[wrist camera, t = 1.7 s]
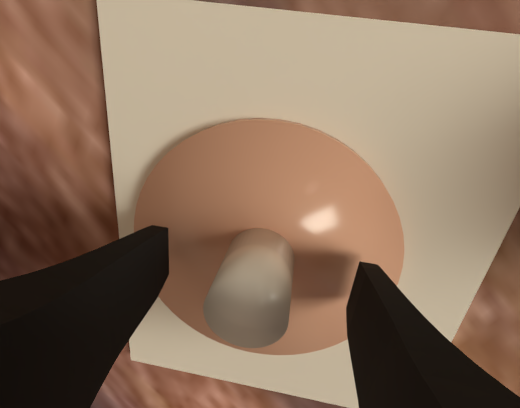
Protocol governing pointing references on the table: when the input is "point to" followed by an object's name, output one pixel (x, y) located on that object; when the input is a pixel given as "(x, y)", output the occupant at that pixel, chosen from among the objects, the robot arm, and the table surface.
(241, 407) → the table surface
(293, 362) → the mat
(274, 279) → the lid
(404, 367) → the robot arm
